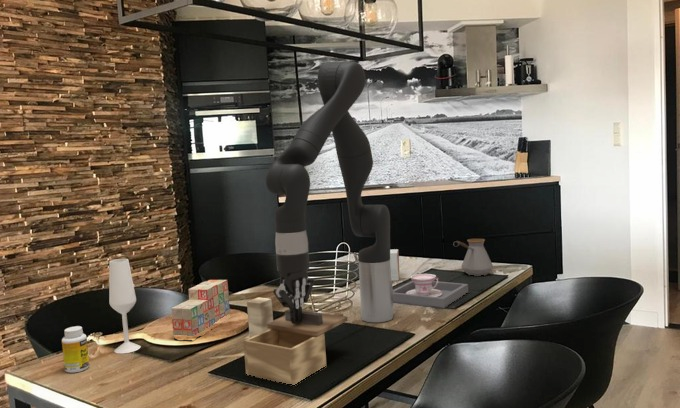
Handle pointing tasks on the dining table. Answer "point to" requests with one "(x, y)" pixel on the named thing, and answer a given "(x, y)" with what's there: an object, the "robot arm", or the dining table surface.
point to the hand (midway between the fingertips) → (296, 323)
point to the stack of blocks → (201, 308)
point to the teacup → (424, 285)
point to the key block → (259, 315)
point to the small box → (394, 264)
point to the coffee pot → (476, 258)
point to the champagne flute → (122, 297)
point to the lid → (309, 323)
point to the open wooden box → (284, 355)
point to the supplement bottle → (75, 350)
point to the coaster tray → (448, 296)
